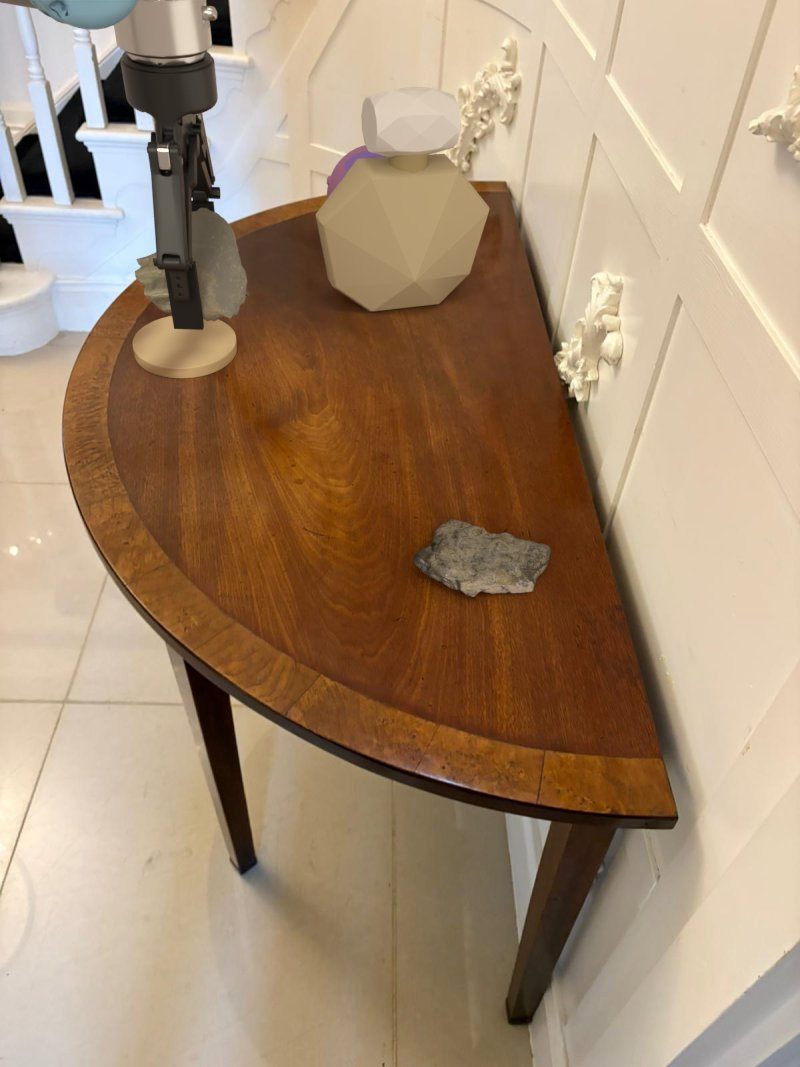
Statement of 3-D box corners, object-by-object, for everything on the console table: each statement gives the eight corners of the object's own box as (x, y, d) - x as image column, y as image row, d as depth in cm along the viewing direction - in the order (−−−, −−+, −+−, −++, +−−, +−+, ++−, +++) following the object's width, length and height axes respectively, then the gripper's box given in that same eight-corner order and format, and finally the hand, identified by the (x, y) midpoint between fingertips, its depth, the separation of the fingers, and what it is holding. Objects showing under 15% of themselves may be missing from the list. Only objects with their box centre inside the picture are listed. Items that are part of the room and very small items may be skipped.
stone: (549, 552, 80) (555, 532, 78) (539, 615, 74) (545, 596, 72) (415, 523, 82) (417, 503, 80) (395, 583, 76) (396, 563, 74)
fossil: (218, 308, 87) (125, 282, 82) (245, 215, 83) (149, 181, 78) (245, 358, 77) (140, 331, 72) (278, 253, 72) (169, 217, 67)
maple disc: (125, 377, 97) (123, 367, 96) (143, 322, 106) (141, 312, 105) (232, 379, 98) (231, 369, 97) (241, 325, 107) (240, 315, 106)
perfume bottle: (489, 310, 114) (523, 99, 94) (329, 328, 108) (328, 106, 88) (459, 271, 122) (484, 68, 102) (308, 286, 116) (303, 74, 96)
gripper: (191, 102, 56) (222, 361, 71) (229, 17, 73) (247, 240, 88) (83, 97, 55) (137, 359, 70) (147, 12, 73) (179, 238, 88)
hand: (198, 293), depth 79 cm, fingers closed on fossil, 12 cm apart
